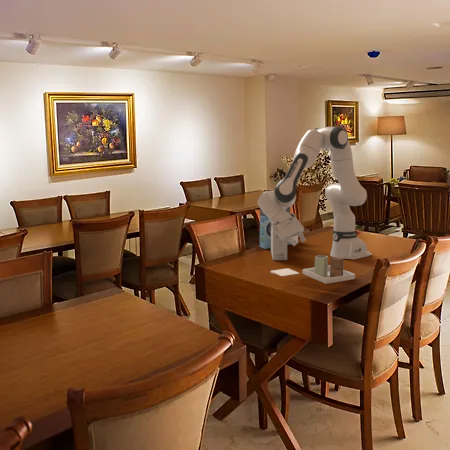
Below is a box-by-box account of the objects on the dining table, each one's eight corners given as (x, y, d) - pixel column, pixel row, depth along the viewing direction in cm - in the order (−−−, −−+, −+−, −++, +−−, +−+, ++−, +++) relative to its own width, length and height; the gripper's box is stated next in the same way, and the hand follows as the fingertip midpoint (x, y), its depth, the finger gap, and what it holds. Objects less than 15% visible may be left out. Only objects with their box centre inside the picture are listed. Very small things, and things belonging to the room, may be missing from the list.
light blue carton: (284, 243, 305) (285, 206, 301) (290, 244, 301) (290, 207, 297) (259, 247, 295) (259, 209, 290) (264, 249, 290) (264, 210, 286)
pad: (288, 270, 246) (288, 268, 246) (299, 275, 237) (299, 273, 237) (270, 272, 242) (270, 270, 242) (281, 278, 233) (281, 275, 233)
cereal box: (287, 260, 265) (287, 213, 261) (272, 260, 266) (272, 213, 261) (284, 250, 287) (284, 207, 282) (270, 250, 287) (270, 207, 282)
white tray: (330, 271, 244) (330, 265, 243) (354, 280, 228) (355, 274, 227) (302, 275, 237) (302, 269, 236) (326, 285, 221) (326, 278, 220)
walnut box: (333, 275, 233) (334, 256, 231) (343, 277, 230) (343, 258, 229) (329, 278, 229) (330, 258, 228) (339, 279, 227) (339, 260, 225)
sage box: (318, 273, 237) (318, 254, 235) (327, 274, 234) (327, 255, 233) (314, 275, 233) (314, 256, 231) (323, 277, 231) (324, 257, 229)
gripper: (275, 219, 231) (294, 242, 227) (295, 213, 247) (313, 235, 244) (267, 228, 234) (285, 251, 230) (287, 221, 251) (305, 243, 247)
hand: (300, 242), depth 237 cm, fingers open, 8 cm apart
